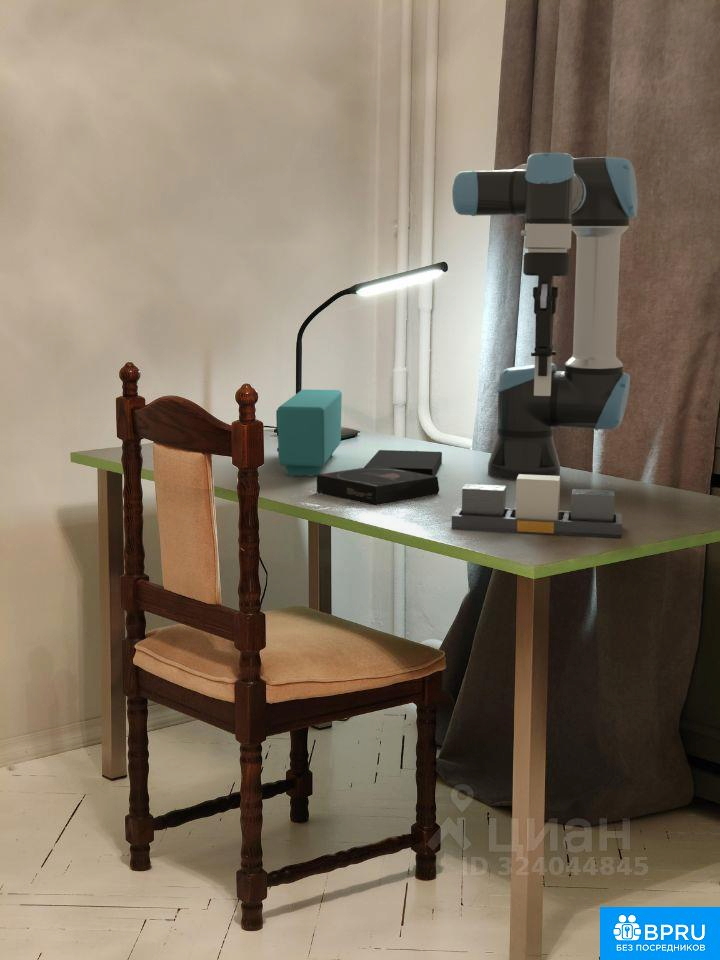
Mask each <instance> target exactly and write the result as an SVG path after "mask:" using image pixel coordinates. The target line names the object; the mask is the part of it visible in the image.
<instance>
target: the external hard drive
mask: <svg viewBox="0 0 720 960" xmlns="http://www.w3.org/2000/svg"><path fill="white" fill-rule="evenodd" d="M442 462H443V453H442V451H426V450H425V451H424V450H423V451H422V450H391V449H390V450H389V449H388V450H387V449H379V450H378V451H377V452H376V453H375V454H374V455H373V456H372V458H370V459H369V460H368V462H367V463H366V464H365V465H364V467H363V468H365V467H372V466H383V467H388V468H394V469H399V470H405V471H410V472H415V473H421V474H426V475H432V476H437V473H438V472H439V470H440V468H441V466H442Z"/></svg>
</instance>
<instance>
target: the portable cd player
mask: <svg viewBox="0 0 720 960" xmlns="http://www.w3.org/2000/svg"><path fill="white" fill-rule="evenodd" d="M364 467H365V466H364ZM364 467H359V468H353V469H346V470H339V471H333V472H327V473H319V474H318V475H317V476H316V493H317V492H318V493H317V494H320V493H322V495H325V494H326V495H325V496H329V495H330V496H329V497H335V498H340V499H343V500H344V499H345V500H349V501H353V502H358V503H363V504H368V505H371V506H381V504H382V505H386V504H391V503H399V502H403V501H409V500H415V499H419V498H425V497H426V498H427V497H431V496H437V495H439V492H440V486H439V478H438V476H437V475H436V476H432V475H426V474H421V473H415V472H410V471H405V470H399V469H394V468H388V467H383V466H372V467H365V468H364Z"/></svg>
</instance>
